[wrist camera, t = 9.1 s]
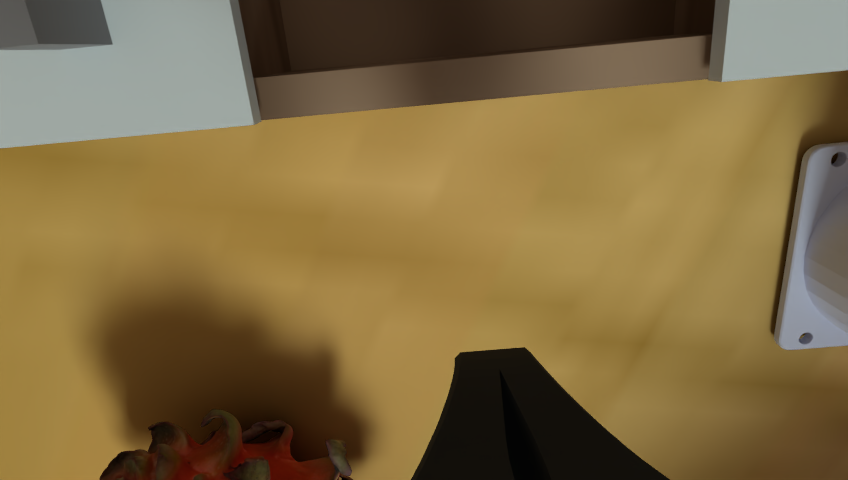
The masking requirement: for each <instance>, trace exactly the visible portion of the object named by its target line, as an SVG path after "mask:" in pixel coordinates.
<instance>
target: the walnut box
mask: <svg viewBox="0 0 848 480" xmlns="http://www.w3.org/2000/svg"><path fill="white" fill-rule="evenodd" d="M715 1H716V0H238V2H239V8H240V13H241V18H242V23H243V28H244V34H245V39H246V44H247V49H248V54H249V59H250V65H251V70H252V75H253V80H254V85H255V91H256V96H257V101H258V106H259V111H260V117H261V120H268V119H279V118H290V117H301V116H312V115H322V114H333V113H344V112H355V111H366V110H377V109H388V108H398V107H409V106H420V105H431V104H442V103H453V102H463V101H474V100H485V99H496V98H507V97H518V96H529V95H539V94H550V93H561V92H572V91H583V90H594V89H604V88H615V87H626V86H637V85H648V84H659V83H670V82H680V81H691V80H702V79H708V77H709V66H710V55H711V45H712V34H713V23H714V12H715Z"/></svg>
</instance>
